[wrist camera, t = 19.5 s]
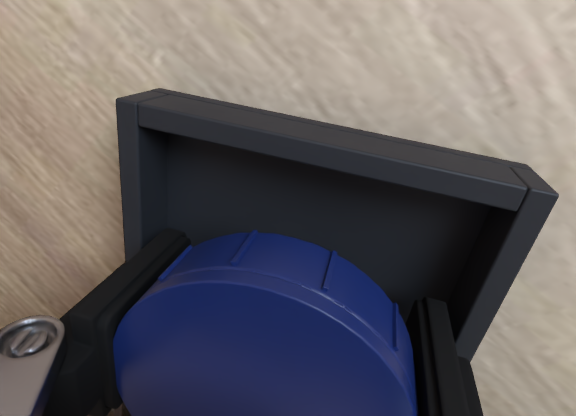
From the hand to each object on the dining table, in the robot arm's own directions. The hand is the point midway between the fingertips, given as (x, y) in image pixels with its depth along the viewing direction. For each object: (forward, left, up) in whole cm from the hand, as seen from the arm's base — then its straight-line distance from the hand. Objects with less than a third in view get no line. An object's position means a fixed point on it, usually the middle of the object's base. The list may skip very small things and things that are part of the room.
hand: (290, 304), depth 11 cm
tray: (0, 0, -2) cm, 2 cm away
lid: (0, 0, +3) cm, 3 cm away
